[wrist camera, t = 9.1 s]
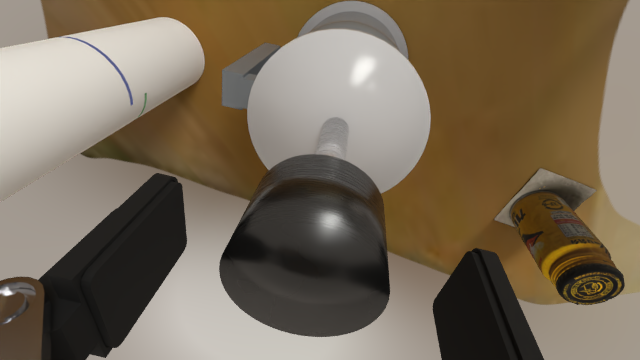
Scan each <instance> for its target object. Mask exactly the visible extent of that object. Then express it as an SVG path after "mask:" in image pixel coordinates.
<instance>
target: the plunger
mask: <svg viewBox="0 0 640 360" xmlns="http://www.w3.org/2000/svg"><path fill="white" fill-rule="evenodd" d="M348 135H349V126H348V124H347V123H346V121H344V120H343V119H341V118H338V117H332V118H329V119H328V120H326V121H325V122H324V124H323V127H322V130H321V133H320V137H319V140H318V143H317V147H316V150H315V153H314V154H306V155H299V156H295V157H291V158H288V159H286V160H284V161H282V162H280V163H278V164H277V165H275V166H274V167H272V168H271V169H270V170H269V171H268V172H267V173H266V174H265V176H264V177H263V178H262V180H261V182H260V184H259V185H258V187H257V189H256V191H255V193H254V195H253V197H252V199H251V201H250V203H249V205H248V207H247V208H246V211H245V212H244V214H243V216H242V218H241V220H240V222H239V224H238V226H237V227H236V229H235V231H234V233H233V235H232V237H231V239H230V241H229V243H228V245H227V247H226V248H225V250H224V252H223V254H222V257H221V260H220V268H219V270H220V278H221V281H222V284H223V286H224V288H225V290H226V292H227V293H228V295H229V296H230V298H231V299H232V300H233V301H234V303H235V304H236V305H238V307H239V308H240V309H242V310H243V311H244V312H245V313H247V314H248V315H250V316H251V317H253V318H254V319H256V320H258V321H260V322H262V323H263V324H265V325H268V326H270V327H272V328H275V329H278V330H281V331H285V332H288V333H292V334H297V335H303V336H313V337H314V336H315V337H329V336H338V335H343V334H348V333H351V332H354V331H357V330H359V329H362V328H364V327H366V326H367V325H369V324H371V323H372V322H373V321H374V320H376V319H377V318H378V317H379V316H380V315H381V314H382V312H383V311H384V309H385V308H386V305H387V303H388V300H389V294H390V284H389V270H388V256H387V242H386V228H385V214H384V204H383V199H382V196H381V193H380V191H379V189H378V188H377V186H376V184H375V183H374V182H373V180H372V179H371V178H370V177H369V176H368V175H367V174H366V173H365V172H364V171H362V170H361V169H360V168H358V167H357V166H355V165H353V164H351V163H350V162H347V161H345V160H346V152H347V144H348Z"/></svg>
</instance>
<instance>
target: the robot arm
mask: <svg viewBox="0 0 640 360" xmlns="http://www.w3.org/2000/svg"><path fill="white" fill-rule="evenodd" d="M186 244H187V236H186V225H185V213H184V203H183V191H182V185H181V183H178V181H177V179H176V178H175V177H172V176H168V175H164V174H159V173H156V174H154V175H153V176H152V177H151V178H150V179H149V180H148V181H147V182H146V183H144V184H143V185H142V186H141V187H140V188H139V189H138V190H137V191H136V192H135V193H134V194H133V195H132V196H130V197H129V198H128V199H127V200H126V201H125V202H124V203H123V204H122V205H121V206H120V207H119V208H117V209H115V210H114V211H113V212H111V213H110V214H109V215H108V216H107V217H106V218H105V219H104V220H103V221H102V222H101V223H99V224H98V225H97V226H96V227H95V228H94V229H93V230H92V231H91V232H90V233H89V234H87V235H86V236H85V237H84V238H83V239H82V240H81V241H80V242H79V243H78V244H77V245H76V246H75V247H73V248H72V249H71V250H70V251H69V252H68V253H67V254H66V255H65V256H64V257H63V258H61V259H60V260H59V261H58V262H57V263H56V264H55V265H54V266H53V267H52V268H51V269H50V270H48V271H47V272H46V273H45V274H44V275H43V276H42V277H41V278H40V279H39V280H37V279H33V278H31V277H14V278H8V279H4V280H1V281H0V360H86V358H87V357H88V356H89V354H92V355H96V356H100V357H105V358H106V357H107V355H108V354H109V352H110V351H111V349H112V348H117V347H118V346H119V345H120V344H121V343H122V342H123V341H124V339H125V338H126V336H127V335H128V333H129V332H130V330H131V329H132V327H133V326H134V324H135V323H136V321H137V320H138V318H139V317H140V315H141V314H142V312H143V311H144V310H145V308H146V306H147V305H148V303H149V302H150V301H151V299H152V298H153V296H154V295H155V293H156V292H157V290H158V289H159V287H160V286H161V284H162V283H163V281H164V280H165V278H166V277H167V275H168V274H169V272H170V271H171V269H172V268H173V266H174V265H175V263H176V262H177V260H178V259H179V257H180V256H181V254H182V253H183V251H184V250H185V247H186ZM433 314H434V319H435V325H436V330H437V336H438V341H439V347H440V352H441V358H442V360H544V358H543V356H542V354H541V352H540V350H539V347H538V345H537V343H536V340H535V338H534V336H533V334H532V332H531V329H530V327H529V325H528V323H527V320H526V318H525V316H524V314H523V311H522V309H521V307H520V305H519V302H518V300H517V298H516V296H515V293H514V291H513V289H512V287H511V284H510V282H509V280H508V278H507V275H506V273H505V271H504V269H503V266H502V264H501V262H500V260H499V257H498V256H497V254H496V253H494V252H490V251H486V250H482V249H478V248H475V249H473V250H472V251H468V252H467V253H466V254H465V255H464V257H463V258H462V260H461V261H460V263H459V264H458V266H457V267H456V269H455V270H454V272H453V273H452V274H451V276H450V278H449V279H448V280H447V282H446V283H445V285H444V286H443V288H442V289H441V291H440V292H439V294H438V295H437V297H436V298H435V300H434V303H433Z"/></svg>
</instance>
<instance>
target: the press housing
mask: <svg viewBox="0 0 640 360" xmlns="http://www.w3.org/2000/svg"><path fill="white" fill-rule="evenodd" d="M222 105H223V106H227V107H231V108H236V109H240V110H242V109H243V108H245V109H247V121H248V128H249V133H250V137H251V140H252V143H253V145H254V148H255V150H256V152H257V154H258V156H259V157H260V159H261V161H262V162H263V163H264V165H265V166H266V168H267V169H268V170H270V169H271V168H272V167H274V166H275V165H277V164H278V163H280V162H282V161H284V160H286V159H288V158H291V157H295V156H299V155H306V154H314V153H315V150H316V147H317V143H318V140H319V137H320V133H321V130H322V127H323V124H324V122H325V121H326V120H328V119H329V118H332V117H338V118H341V119H343V120H344V121H346V123H347V124H348V126H349V135H348V144H347V152H346V160H345V161H347V162H350V163H351V164H353V165H355V166H357V167H358V168H360V169H361V170H362V171H364V172H365V173H366V174H367V175H368V176H369V177H370V178H371V179H372V180H373V182H374V183H375V184H376V186H377V188H378V189H379V191H380V193H383V192H385V191H387V190H389V189H391V188H392V187H394V186H395V185H397V184H398V183H399V182H400V181H401V180H403V179H404V178H405V177H406V176H407V175H408V174H409V173H410V171H411V170H412V169H413V168H414V166H415V165H416V164H417V162H418V161H419V159H420V157H421V155H422V153H423V151H424V149H425V146H426V143H427V140H428V136H429V131H430V119H431V115H430V105H429V100H428V96H427V92H426V90H425V88H424V85H423V83H422V80H421V79H420V77H419V75H418V73H417V72H416V70H415V68H414V67H413V65H412V64H411V63H410V62H409V60H408V50H407V46H406V42H405V39H404V37H403V34H402V32H401V30H400V29H399V27H398V25H397V24H396V23H395V21H394V20H393V19H392V18H391V17H390V16H389V15H388V14H387V13H386V12H385V11H383V10H382V9H380V8H379V7H377V6H375V5H373V4H370V3H367V2H363V1H341V2H337V3H334V4H331V5H329V6H327V7H325V8H323V9H322V10H320V11H319V12H317V13H316V14H315V15H314V16H312V17H311V18H310V19H309V20H308V22H307V23H306V24H305V25H304V26H303V28H302V30H301V31H300V33H299V35H298V37H297V38H295V39H293V40H292V41H290V42H289V43H287V44H286V45H284V46H283V47H282V48H280V46H278V45H274V44H270V43H264V44H262V45H261V46H259V47H257V48H256V49H254V50H253V51H251V52H250V53H248V54H246V55H245V56H243V57H242V58H240V59H239V60H237V61H235V62H234V63H232V64H231V65H229V66H228V67H226V68H224V69H223V70H222Z"/></svg>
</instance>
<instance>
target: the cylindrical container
mask: <svg viewBox="0 0 640 360" xmlns="http://www.w3.org/2000/svg"><path fill="white" fill-rule="evenodd" d="M204 65H205V59H204V53H203V49H202V47H201V44H200V42H199V41H198V39H197V37H196V36H195V35H194V33H193V32H192V31H191V30H190V29H189V28H188V27H187V26H185V25H184V24H182V23H181V22H179V21H177V20H175V19H172V18H167V17H159V18H154V19H149V20H144V21H139V22H134V23H128V24H123V25H118V26H113V27H108V28H102V29H97V30H92V31H87V32H82V33H77V34H72V35H66V36H61V37H56V38H51V39H46V40H40V41H36V42H31V43H25V44H20V45H15V46H9V47H4V48H0V202H2V201H3V200H5V199H6V198H8V197H10V196H11V195H13V194H15V193H16V192H18V191H19V190H21V189H23V188H24V187H26V186H28V185H29V184H31V183H32V182H34V181H36V180H37V179H39V178H41V177H42V176H44V175H46V174H47V173H49V172H50V171H52V170H54V169H55V168H57V167H59V166H60V165H62V164H64V163H65V162H67V161H68V160H70V159H72V158H73V157H75V156H76V155H78V154H80V153H82V152H83V151H85V150H86V149H88V148H90V147H91V146H93V145H95V144H96V143H98V142H99V141H101V140H103V139H104V138H106V137H108V136H109V135H111V134H113V133H114V132H116V131H117V130H119V129H121V128H122V127H124V126H126V125H127V124H129V123H130V122H132V121H134V120H135V119H137V118H139V117H140V116H142V115H144V114H145V113H147V112H148V111H150V110H152V109H153V108H155V107H157V106H158V105H160V104H161V103H163V102H165V101H166V100H168V99H170V98H171V97H173V96H175V95H176V94H178V93H179V92H181V91H183V90H184V89H186V88H188V87H189V86H191V85H193V84H194V83H195V82H197V81H198V80H199V78H200V77H201V76H202V73H203V70H204Z"/></svg>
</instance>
